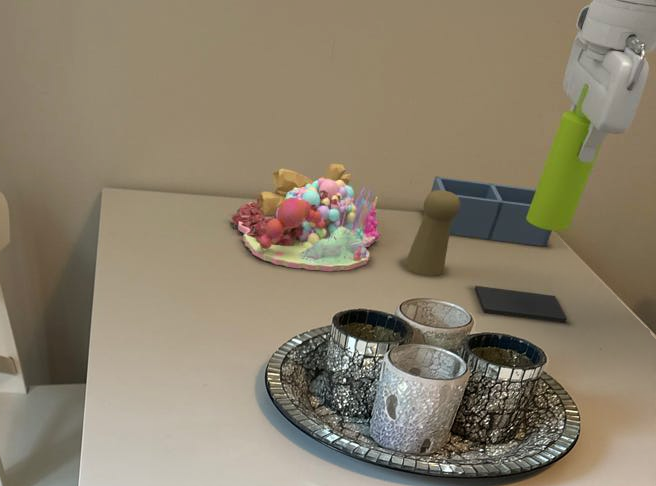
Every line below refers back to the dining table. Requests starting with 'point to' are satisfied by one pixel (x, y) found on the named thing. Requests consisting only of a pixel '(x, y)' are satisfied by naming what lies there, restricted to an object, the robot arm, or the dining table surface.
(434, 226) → the olive game pawn
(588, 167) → the soap dispenser
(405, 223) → the dining table surface
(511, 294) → the mat
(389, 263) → the dining table surface
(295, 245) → the candy landscape model
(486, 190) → the box
